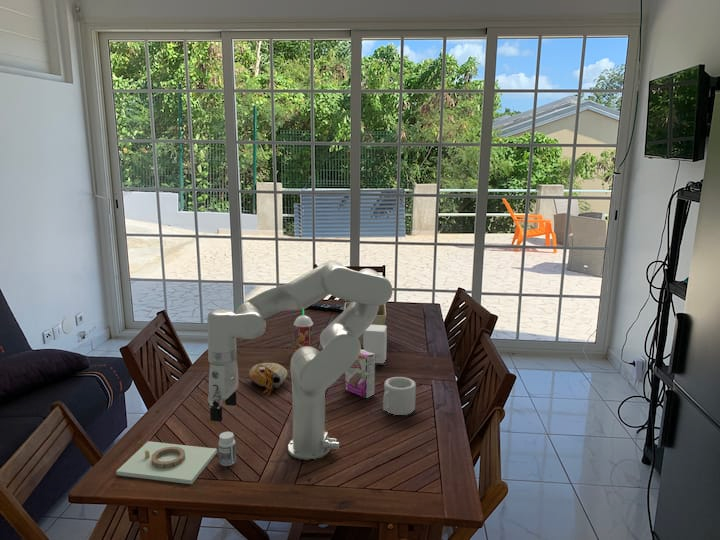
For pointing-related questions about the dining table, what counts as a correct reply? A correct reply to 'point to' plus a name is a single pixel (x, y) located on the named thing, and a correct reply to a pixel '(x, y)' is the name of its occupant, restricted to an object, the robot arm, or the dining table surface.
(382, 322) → the flower pot
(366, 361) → the candy bar box
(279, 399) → the dining table surface
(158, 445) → the socket board
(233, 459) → the pill bottle
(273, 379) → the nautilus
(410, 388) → the mug
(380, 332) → the supplement box
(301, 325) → the smoothie
